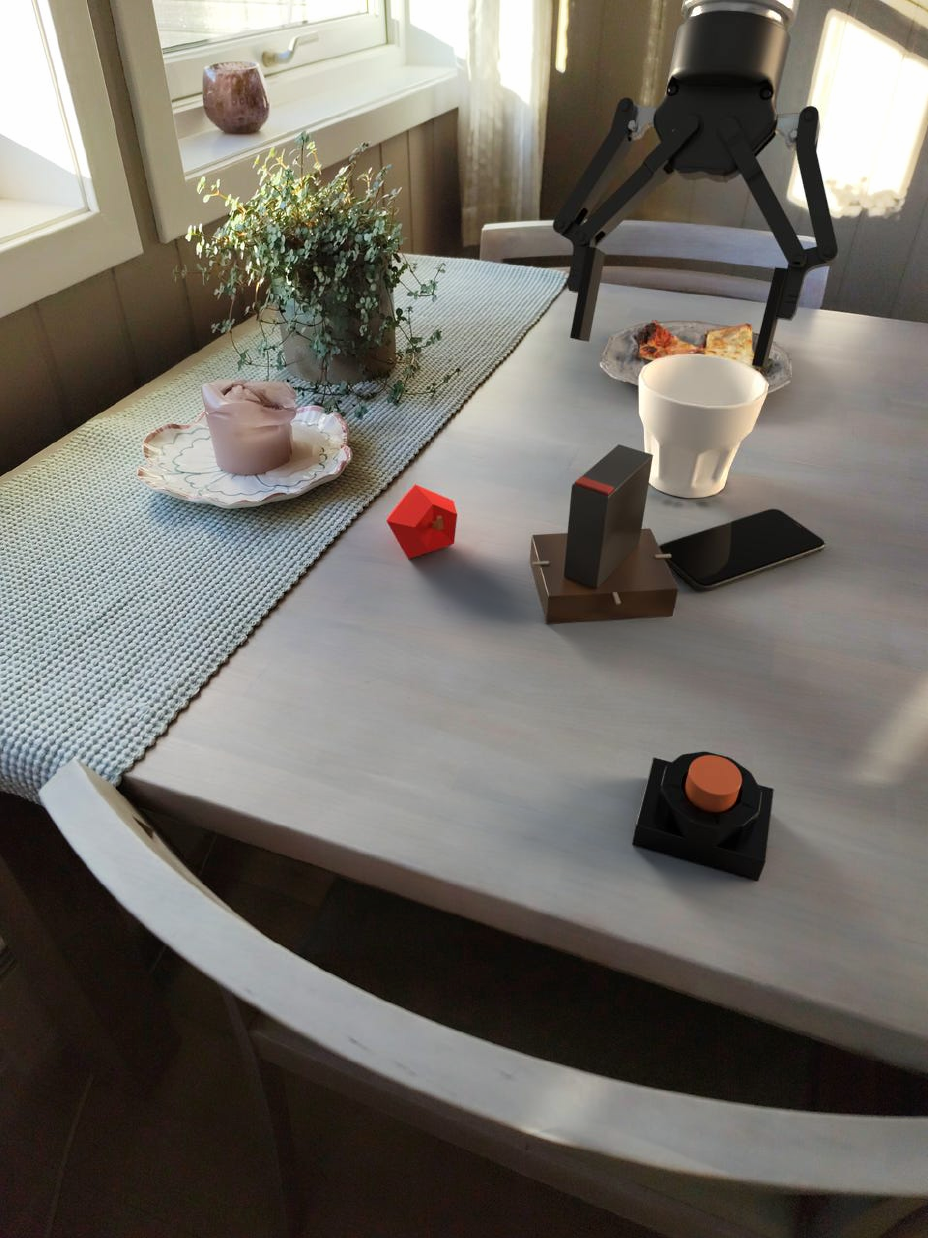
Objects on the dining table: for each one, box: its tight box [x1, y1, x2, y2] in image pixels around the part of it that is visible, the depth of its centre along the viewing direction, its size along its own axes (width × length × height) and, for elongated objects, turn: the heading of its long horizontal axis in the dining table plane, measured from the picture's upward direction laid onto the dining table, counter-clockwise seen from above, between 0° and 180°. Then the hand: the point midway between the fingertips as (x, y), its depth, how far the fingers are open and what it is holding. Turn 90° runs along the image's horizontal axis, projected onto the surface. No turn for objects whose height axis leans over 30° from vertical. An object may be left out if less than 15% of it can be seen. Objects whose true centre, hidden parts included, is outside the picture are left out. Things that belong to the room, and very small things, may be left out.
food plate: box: [599, 319, 793, 395], centre depth 111 cm, size 25×23×4 cm
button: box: [685, 755, 742, 812], centre depth 54 cm, size 3×3×2 cm
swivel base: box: [529, 527, 679, 625], centre depth 76 cm, size 12×12×3 cm
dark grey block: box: [564, 444, 653, 589], centre depth 72 cm, size 8×3×9 cm, turn 145°
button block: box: [631, 751, 775, 882], centre depth 56 cm, size 8×6×4 cm
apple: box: [386, 484, 458, 560], centre depth 80 cm, size 7×7×8 cm
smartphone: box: [658, 508, 827, 592], centre depth 81 cm, size 7×1×15 cm
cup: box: [638, 354, 769, 499], centre depth 88 cm, size 12×12×11 cm
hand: (665, 353), depth 65 cm, fingers open, 13 cm apart
